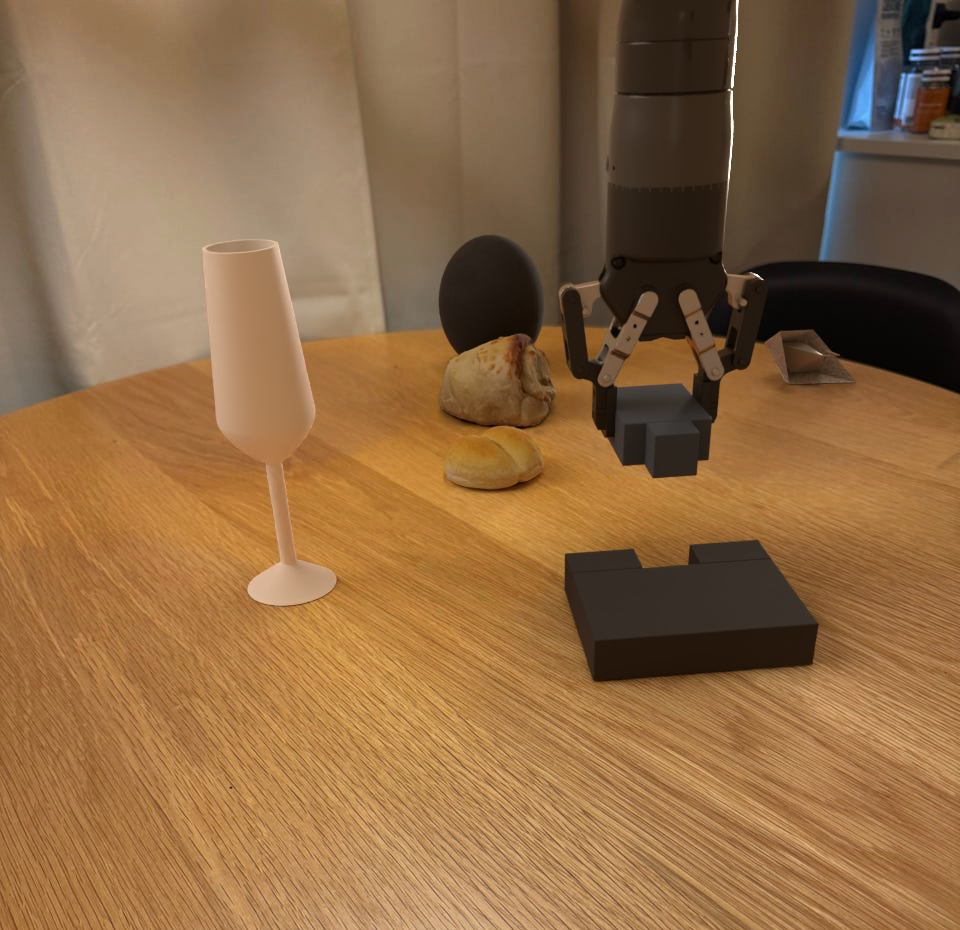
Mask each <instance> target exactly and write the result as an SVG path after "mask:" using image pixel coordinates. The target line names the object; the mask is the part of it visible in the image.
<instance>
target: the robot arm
mask: <svg viewBox="0 0 960 930" xmlns="http://www.w3.org/2000/svg"><path fill="white" fill-rule="evenodd" d="M738 14H739V0H619V4H618V11H617V19H616V31H615V41H616V43H615V57H614V58H615V59H614V60H615V62H614V63H615V64H614V66H615V67H614V92H615V93H613V106H612V113H611V118H610V125H609V134H608V152H607V155H606V162H605V168H606V169H605V171H606V174H607V184H606V185H607V188H606V189H607V190H606V194H607V195H606V224H605V225H606V226H605V227H606V228H605V230H606V231H605V257H604V258H605V259H604V265H603V267H602V270H601V272H600V273H599V275H598V278H597V280H593V281H588V282H582V283H579V284H573V283H572V282H570V281H562V282H561V283H560V284H559V285H558V286H557V289H556V295H557V303H558V309H559V317H560V325H561V332H562V340H563V341H562V342H563V348H564V355H565V361H566V362H565V363H566V365H567V367H568V369H569V371H570V373H571V375H572V376H573V377H574V378H575V380H576V379H577V380H586V381H589V382H591V384H592V387H591V389H592V393H591V394H592V395H591V419H592V422H593V423H594V426H595V428H596V430H597V431H600V433H601V434H602V435H603V438H604V439H608V438H613V437H614V436H615V414H616V410H617V387H618V386H617V385H616V383H615V382H616V380H617V377H618V375H619V373H620V372H621V370H622V368H623V366H624V364H625V362H626V360H627V359H629V357H630V356H631V355H632V352H633V351H634V349H635V347H636V345H637V343H638V342H639V343H640V342H641V343H645V342H652V341H656V340H659V339H662V338H664V339H668V340H673V341H678V340H686V342H687V344H688V345H689V348H690V350H691V353H692V355H693V357H694V360H695V362H696V365H697V367H698V368H697V373H696V372H694V373H693V378H692V381H693V382H692V390H691V392H692V393H691V394H692V396H693V397H694V398H695V399H696V401H697V402H698V403H699V404H700V405H701V406H702V407H703V408H704V410H705V411H706V412H707V413H708V414H709V416H710V417H711V418H712V424H714V423H715V422H716V419H717V417H718V411H719V398H720V388H721V381H722V379H723V378H724V376H725V375H726V374H729V373H731V372H733V371H736V370H738V371H744V370H746V369H747V368H749V366H750V365H751V363H752V362H751V361H752V358H753V354H754V350H755V345H756V341H757V338H758V333H759V329H760V325H761V321H762V316H763V312H764V308H765V304H766V300H767V296H768V292H769V284H768V282H767V281H766V280H764V279H763V278H762V277H761V276H759V275H758V274H756V273H754V272H751V271H748V272H744V273H743V274H733V273H727V271H726V269H725V267H724V263H723V255H724V254H723V253H724V244H725V232H726V219H727V207H728V197H729V185H730V173H731V161H732V151H733V138H734V135H733V134H734V119H733V90H732V89H733V87H734V76H735V65H736V64H735V63H736V53H737V52H736V51H737V40H738V38H737V37H738V25H739V24H738V22H739V21H738V19H739V17H738V16H739V15H738ZM725 291H726V293H727V303H728V305H730V306H731V307H732V312H731V316H730V321H729V325H728V330H727V333H726V339H725V342H724V347H723V348H721V349H719V350H717V347H716V342H715V339H714V337H713V334H712V331H711V329H710V327H709V324H708V321H707V319H706V317H707V316H708V314H709V313H710V312H711V310H712V309H713V307H714V306H715V305H716V304H717V302H718V301H719V300H720V298H721V297H722V295H723V294H724V293H725ZM598 299H602V301H603V302H604V304H605V306H607V308H608V309H609V311H610V313H611V314H612V315H613V317H612V320H611V322H610V323H609V326H608V327H607V330H606V332H605V334H604V337H603V341H602V345H601V346H600V349H599V351H598V353H597V355H596V357H595V358H593V357H591V356H590V357H589V353H588V347H587V338H586V329H585V323H584V319H587V318H589V317H590V316H591V315H592V314H593V310H594V309H593V308H594V307H593V306H594V303H595V302H596V301H597V300H598Z"/></svg>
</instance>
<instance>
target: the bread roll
mask: <svg viewBox="0 0 960 930" xmlns="http://www.w3.org/2000/svg"><path fill="white" fill-rule="evenodd" d="M542 454H543V453H542V451H541V449H540V447H539V444H538V443H537V442H536V440H535V439H534V438H533V437H532V435H530V434H529V433H527V432H526V431H524V430H523V429H520V428H519V427H518V428H517V427H510V426H500V425H496V426H493V427H491V428H488V429H486V431H484V432H483V433H482V434H481V435H464V436H463V435H462V436H460V437H458V438H456V439H454V440H453V441H451V443H449V445H448V446H447V448H446V449H445V451H444V454H443V456H442V467H443V471H444V473H445V475H446V477H447V479H448V480H449V481H451V482H452V483H454V484H456V485H459V486H462V487H465V488H470V489H480V490H501V489H506V488H509V487H513V486H514V485H516V484H518V483H526V482H528V481H531V480H532V479H534V478H535V477H537V476H538V475H540V473H541V472H542V471H543V470H544V467H545V463H544V458H543V455H542Z"/></svg>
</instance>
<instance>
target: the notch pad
mask: <svg viewBox="0 0 960 930" xmlns="http://www.w3.org/2000/svg"><path fill="white" fill-rule="evenodd" d="M564 592H565V596H566V599H567V602H568V605H569V608H570V611H571V614H572V617H573V621H574V624H575V627H576V630H577V633H578V636H579V640H580V643H581V645H582V646H581V647H582V650H583V653H584V655H585V659H586V661H587V665H588V668H589V671H590V675H591V678H592V680H593V682H599V681H612V680H625V679H636V678H637V679H638V678H651V677H663V676H678V675H689V674H691V675H692V674H702V673H715V672H728V671H741V670H742V671H743V670H754V669H756V670H757V669H765V668H767V669H769V668H780V667H781V668H783V667H794V666H805V665H806V666H807V665H813V663H814V656H815V650H816V643H817V637H818V631H819V625H820V624H819V622H818V621H817V619H816V618H815V617H814V616H813V614H812V612H811V611H810V610H809V608H808V607H807V606H806V604H805V602H804V601H803V600H802V599H801V597H800V596H799V594H798V593H797V591H796V590H795V589H794V588H793V586H792V585H791V584H790V582H789V581H788V580H787V578H786V577H785V575H784V574H783V573H782V571H781V569H780V568H779V567H778V566H777V565H776V563H775V562H774V560H773V559H772V557H771V556H770V554H769V553H768V552H767V550H766V549H765V548H764V546H763V544H762V543H761V542H760V541H759V539H748V540H736V541H735V540H734V541H722V542H721V541H720V542H709V543H692V544H691V543H690V544H689V547H688V559H687V564H680V565H679V564H678V565H666V566H665V565H663V566H651V567H649V566H648V567H643V565H642V562H641V561H640V558H639V556H638V554H637V552H636V550H635V548H623V549H621V548H620V549H610V550H608V549H607V550H595V551H582V552H581V551H579V552H567V553H564Z"/></svg>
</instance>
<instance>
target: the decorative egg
mask: <svg viewBox="0 0 960 930" xmlns="http://www.w3.org/2000/svg"><path fill="white" fill-rule="evenodd" d="M545 311H546V294H545V287H544V283H543V279H542V276H541V273H540V271H539V268H538V267H537V264H536V263H535V261H534V259H533V258H532V257H531V255H530V254H529V253H528V251H527V250H526V249H525V248H524V247H522V246H521V245H520V244H519V243H517V242H516V241H514V240H513V239H512V238H509V237H506V236H504V235H498V234H483V235H479V236H476V237H473V238H471V239H470V240H468V241H466V242H465V243H464V244H462V245H461V246H459V248H458V249H457V250H455V252H454V253H453V255H452V256H451V257H450V259H449V260H448V262H447V264H446V266H445V268H444V271H443V272H442V276H441V280H440V284H439V290H438V313H439V319H440V324H441V326H442V330H443V332H444V335H445V337H446V339H447V341H448V343H449V345H450V346H451V348H452V349H453V350H454V352H455V353H456V354H457V355H458V356H459V355H460V354H462V353H463V352H465V351H469V350H471V349H474V348H476V347H478V346H480V345H482V344H485V343H487V342H490V341H493V340H497V339H498V338H499V337H509V336H512V335H515V334H525V335H527V336H528V337H530V338H531V339H532V341H533V343H534V345H535V344H536V342H537V341H538V338H539V336H540V334H541V331H542V327H543V324H544V320H545V314H546V313H545Z"/></svg>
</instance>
